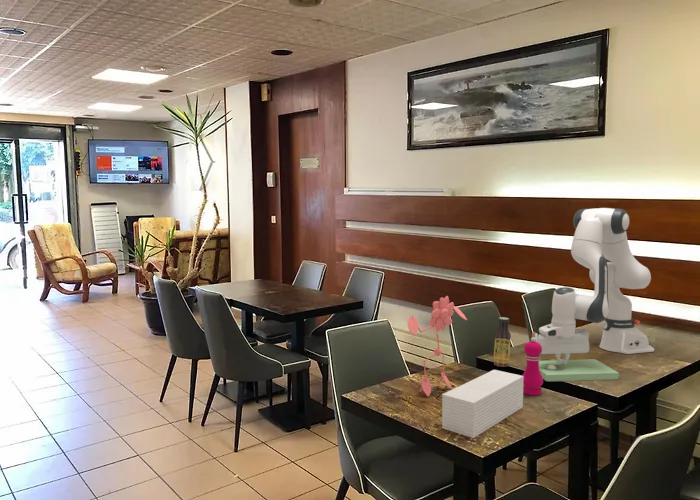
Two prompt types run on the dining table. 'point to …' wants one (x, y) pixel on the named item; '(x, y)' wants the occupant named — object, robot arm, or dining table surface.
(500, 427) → the dining table surface
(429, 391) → the pink humanoid figure
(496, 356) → the sauce bottle
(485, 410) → the stack of papers
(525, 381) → the pepper mill
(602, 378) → the mat
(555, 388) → the dining table surface
